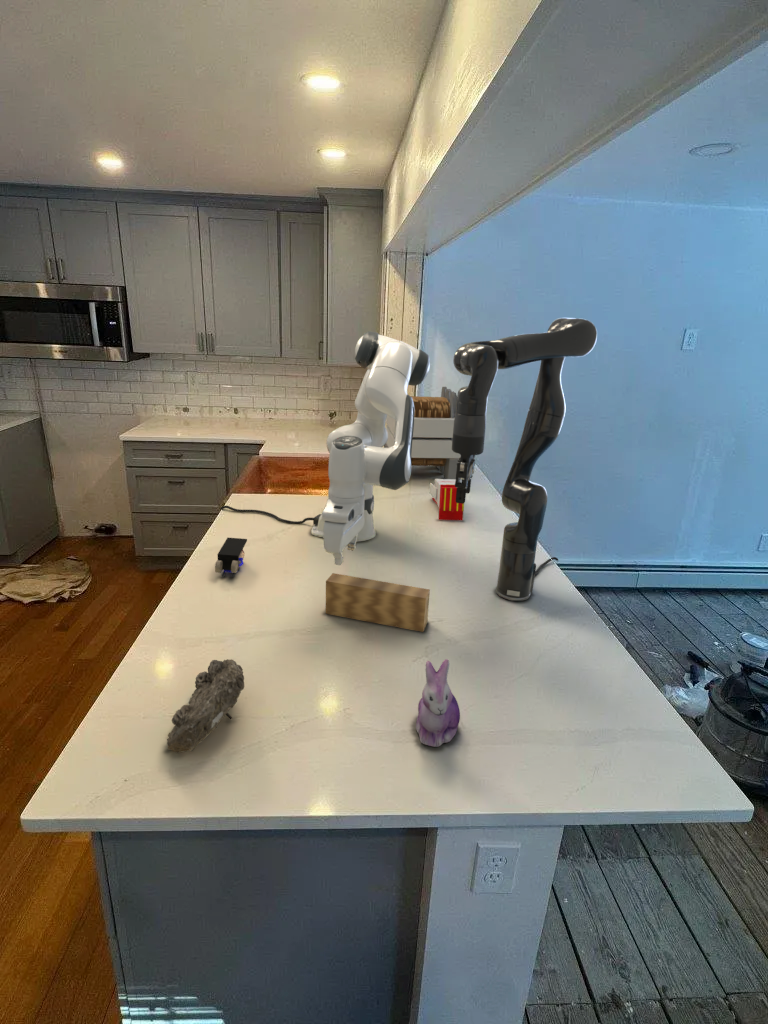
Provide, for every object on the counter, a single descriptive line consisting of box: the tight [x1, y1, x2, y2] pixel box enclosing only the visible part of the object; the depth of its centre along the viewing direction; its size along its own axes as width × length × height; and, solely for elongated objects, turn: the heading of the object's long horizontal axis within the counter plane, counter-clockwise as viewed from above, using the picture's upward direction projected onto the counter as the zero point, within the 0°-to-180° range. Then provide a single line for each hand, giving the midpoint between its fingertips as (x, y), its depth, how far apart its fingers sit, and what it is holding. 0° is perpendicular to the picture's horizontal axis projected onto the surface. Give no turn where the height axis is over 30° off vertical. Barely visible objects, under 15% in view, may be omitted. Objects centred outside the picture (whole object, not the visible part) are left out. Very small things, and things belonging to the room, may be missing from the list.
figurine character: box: [214, 537, 248, 578], centre depth 166 cm, size 7×8×15 cm
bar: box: [325, 572, 431, 633], centre depth 144 cm, size 26×5×9 cm, turn 74°
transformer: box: [383, 386, 461, 482], centre depth 268 cm, size 34×33×41 cm
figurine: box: [415, 658, 461, 748], centre depth 104 cm, size 9×10×15 cm
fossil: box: [166, 658, 245, 754], centre depth 106 cm, size 22×10×15 cm
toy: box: [428, 478, 465, 521], centre depth 226 cm, size 12×13×30 cm
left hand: (345, 556), depth 142 cm, fingers open, 8 cm apart
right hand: (462, 497), depth 139 cm, fingers open, 8 cm apart
